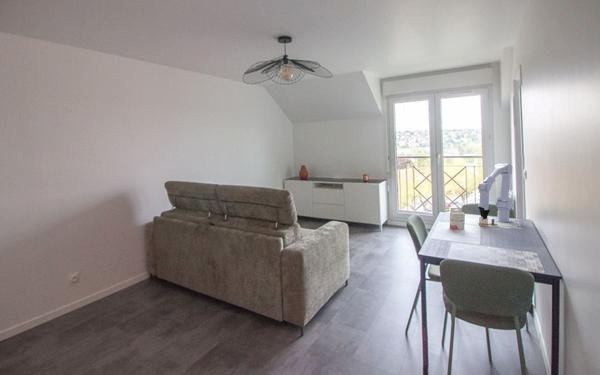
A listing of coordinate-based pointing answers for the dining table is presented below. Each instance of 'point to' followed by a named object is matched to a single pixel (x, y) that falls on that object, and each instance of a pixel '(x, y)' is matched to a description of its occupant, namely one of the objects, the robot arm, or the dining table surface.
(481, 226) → the pin board
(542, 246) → the dining table surface
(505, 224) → the mat
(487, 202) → the robot arm
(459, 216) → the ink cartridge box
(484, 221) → the sleeve
